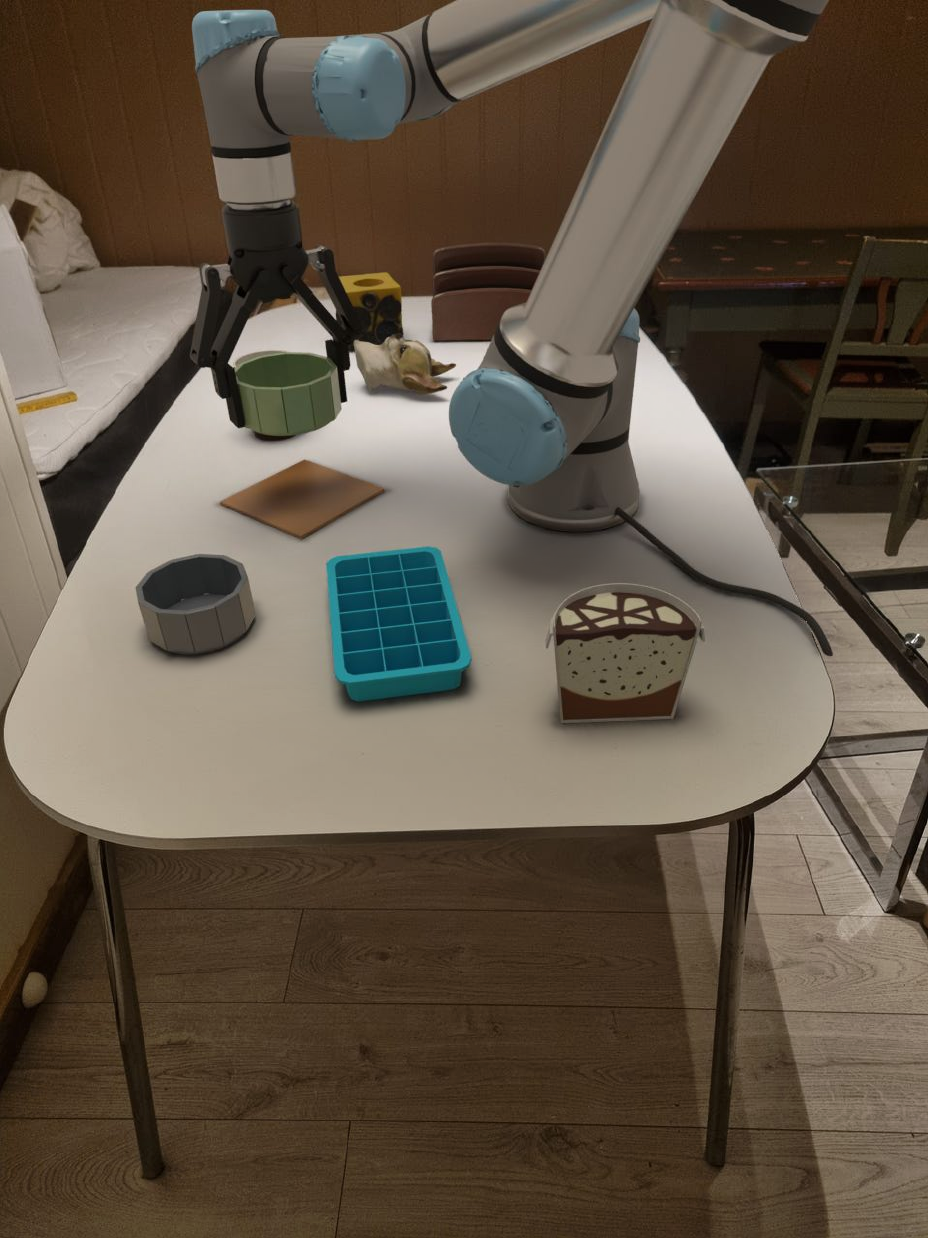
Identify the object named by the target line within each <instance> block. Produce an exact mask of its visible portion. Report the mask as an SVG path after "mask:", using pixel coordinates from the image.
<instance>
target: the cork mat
mask: <svg viewBox="0 0 928 1238" xmlns="http://www.w3.org/2000/svg"><path fill="white" fill-rule="evenodd" d="M385 491H386V489H385V487H382V486H380V485H377V484H375V483H371V482H369V481H366V480H363V479H360V478H357V477H355V476H352V475H349V474H346V473H344V472H341V471H338V470H335V469H332V468H329V467H327V466H324V465H321V464H319V463H316V462H312V461H310V460H307V459H303V460H300V461H299V462H296V463H294V464H292V465H291V466H288V467H286V468H284V469H282V470H280V471H279V472H276V473H275V474H274V473H273V474H272V475H271V476H269V477H267V478H264V479H263V480H261V481H259V482H256V483H255V484H252V485H250V486H248V487H246V488H244V489H242V490H240V491H238V492H236V493H234V494H232V495H230V496H228V497H226V498H224V499H222V500H220V501H219V504H220V505H221V506H224V507H226V508H228V509H230V510H232V511H235V512H237V513H240V514H241V515H245V516H247V517H249V518H251V519H254V520H256V521H258V522H260V523H263V524H265V525H268V526H269V527H272V528H275V529H277V530H280V531H282V532H284V533H287V534H289V535H291V536H293V537H296V538H298V539H301V540H302V539H304V538H306V537H308V536H309V535H311V534H313V533H315V532H317V531H319V530H320V529H322V528H323V527H325V526H327V525H329V524H331V523H332V522H335V520H337V519H339V518H341V517H342V516H345V515H346V514H348V513H349V512H351V511H353V510H355V509H356V508H359V507H360V506H362V505H363V504H366V503H367V502H369V501H370V500H372V499H373V498H376V497H378V496H379V495H381V494H382V493H384V492H385Z"/></svg>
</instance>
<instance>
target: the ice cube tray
mask: <svg viewBox="0 0 928 1238" xmlns="http://www.w3.org/2000/svg"><path fill="white" fill-rule="evenodd" d="M325 566H326V579H327V590H328V605H329V618H330V629H331V642H332V654H333V655H332V656H333V667H334V678H335V679H336V680H337V682H339V683H340V684H342V685H345V688H346V693H347V694H348V697H349V698H350V699H351V700H352V701H355V702H367V701H375V700H382V699H390V698H398V697H406V696H412V695H413V696H414V695H421V694H427V693H429V694H430V693H435V692H436V693H437V692H443V691H445V692H446V691H450V690H456V689H457V688H459V686H460V685H461V681H462V672H463V671H465V670H467V669H468V668H470V666H471V662H472V654H471V651H470V647H469V644H468V640H467V637H466V633H465V630H464V626H463V624H462V623H463V622H462V620H461V616H460V613H459V608H458V606H457V602H456V600H455V599H456V598H455V596H454V592H453V588H452V585H451V582H450V578H449V574H448V571H447V568H446V565H445V561H444V557H443V554H442V550H441V549H439V548H437V547H434V546H420V547H419V546H418V547H410V548H409V547H408V548H400V549H392V550H382V551H373V552H362V553H353V554H344V555H336V556H334V557H331V558H329V559H328V561H327V562H326V563H325Z"/></svg>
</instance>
